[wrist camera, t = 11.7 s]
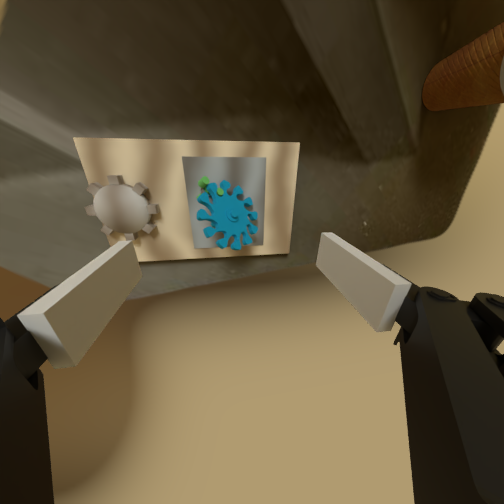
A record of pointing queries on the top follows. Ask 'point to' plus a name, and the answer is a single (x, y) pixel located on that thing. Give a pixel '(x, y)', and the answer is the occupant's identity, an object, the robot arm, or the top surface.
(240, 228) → the gear
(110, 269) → the robot arm
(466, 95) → the disposable coffee cup
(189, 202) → the carrier board
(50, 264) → the top surface
